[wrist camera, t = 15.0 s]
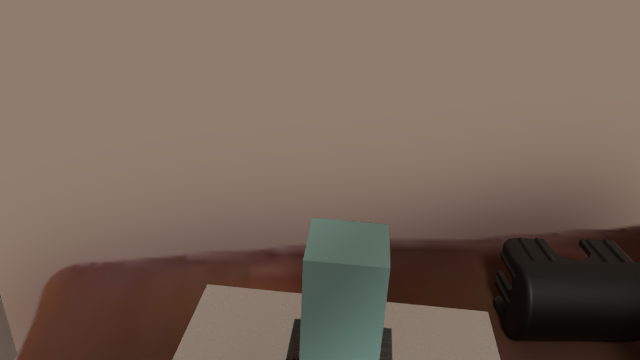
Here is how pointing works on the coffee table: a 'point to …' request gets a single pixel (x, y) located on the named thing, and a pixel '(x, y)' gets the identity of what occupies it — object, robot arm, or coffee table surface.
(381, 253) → the teal post
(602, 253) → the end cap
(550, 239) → the coffee table surface
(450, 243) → the coffee table surface
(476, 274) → the coffee table surface
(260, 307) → the grey rectangular frame
